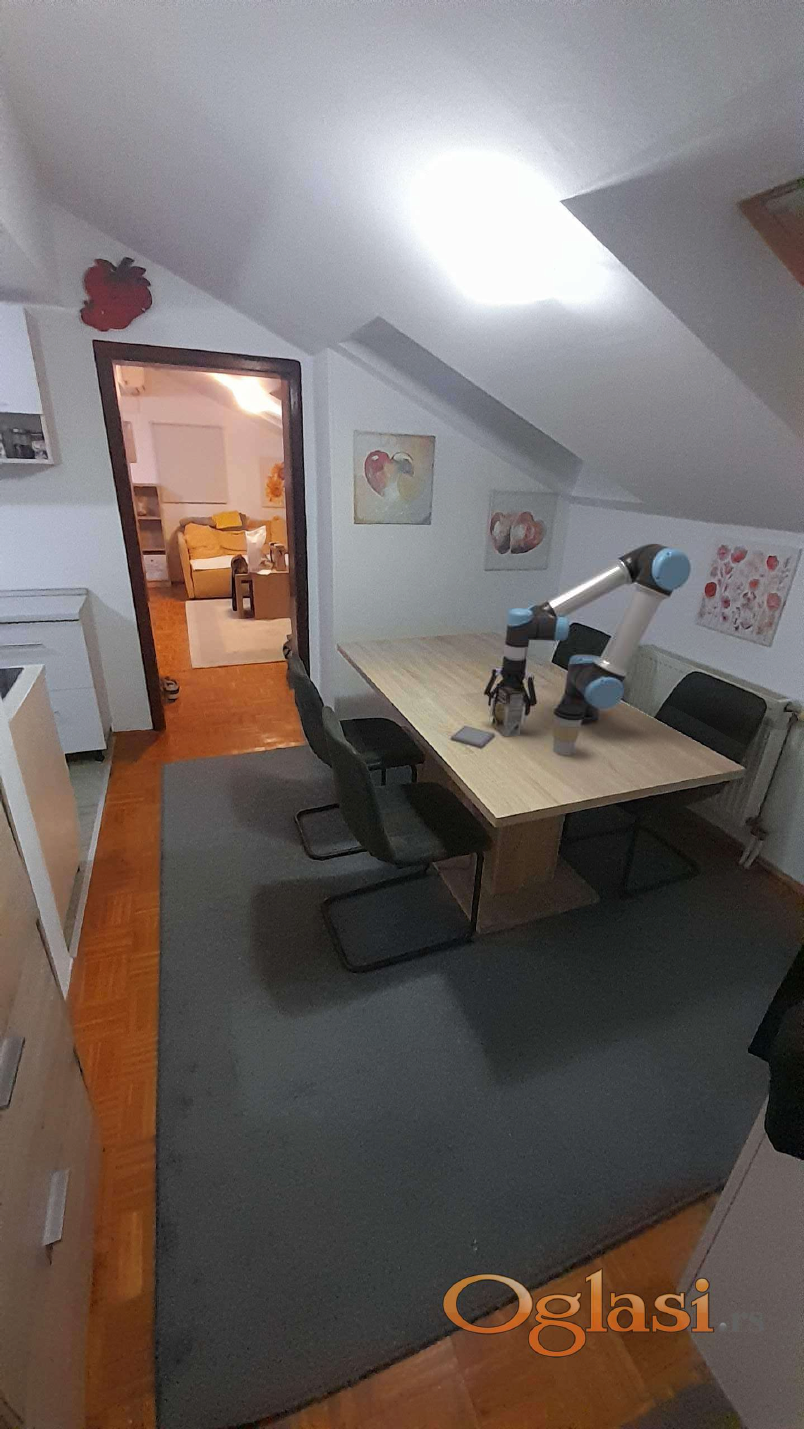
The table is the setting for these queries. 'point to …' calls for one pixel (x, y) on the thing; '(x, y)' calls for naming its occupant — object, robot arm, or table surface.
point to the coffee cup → (566, 727)
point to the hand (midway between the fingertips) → (507, 719)
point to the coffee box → (508, 710)
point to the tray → (473, 737)
